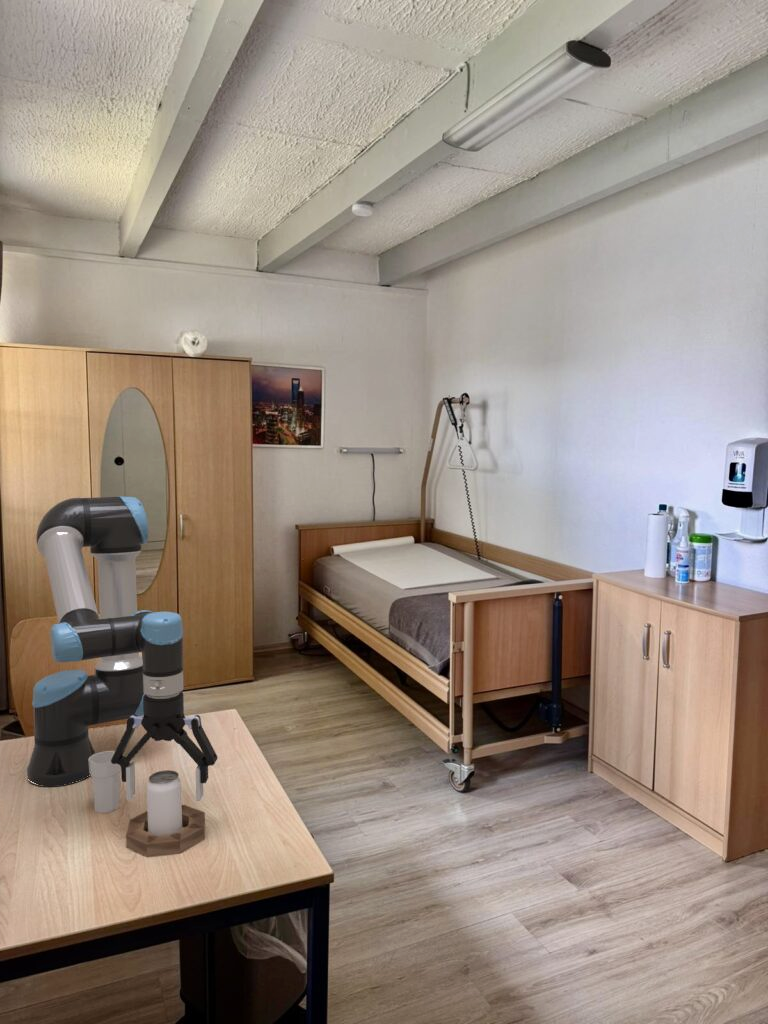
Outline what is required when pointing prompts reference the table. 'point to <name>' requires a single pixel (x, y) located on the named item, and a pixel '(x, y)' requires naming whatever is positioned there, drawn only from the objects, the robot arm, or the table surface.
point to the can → (164, 803)
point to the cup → (105, 781)
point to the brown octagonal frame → (166, 843)
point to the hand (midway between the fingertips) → (165, 797)
